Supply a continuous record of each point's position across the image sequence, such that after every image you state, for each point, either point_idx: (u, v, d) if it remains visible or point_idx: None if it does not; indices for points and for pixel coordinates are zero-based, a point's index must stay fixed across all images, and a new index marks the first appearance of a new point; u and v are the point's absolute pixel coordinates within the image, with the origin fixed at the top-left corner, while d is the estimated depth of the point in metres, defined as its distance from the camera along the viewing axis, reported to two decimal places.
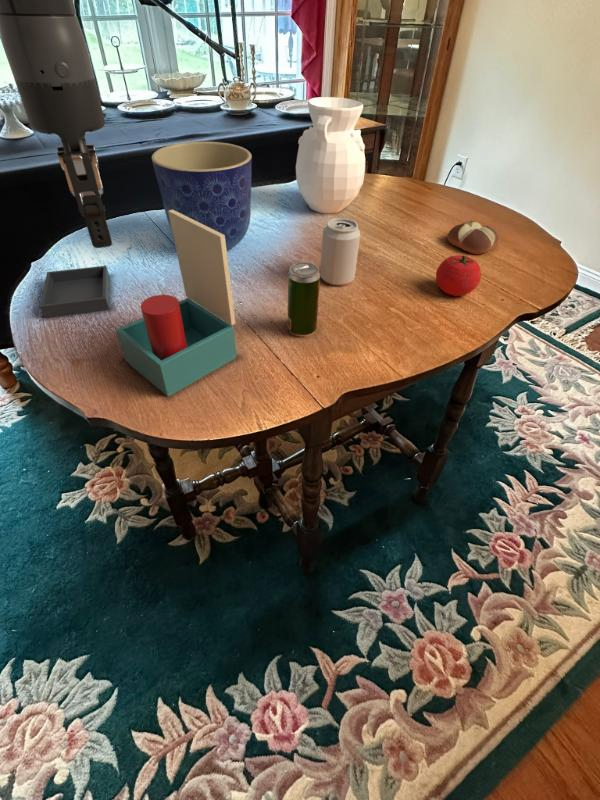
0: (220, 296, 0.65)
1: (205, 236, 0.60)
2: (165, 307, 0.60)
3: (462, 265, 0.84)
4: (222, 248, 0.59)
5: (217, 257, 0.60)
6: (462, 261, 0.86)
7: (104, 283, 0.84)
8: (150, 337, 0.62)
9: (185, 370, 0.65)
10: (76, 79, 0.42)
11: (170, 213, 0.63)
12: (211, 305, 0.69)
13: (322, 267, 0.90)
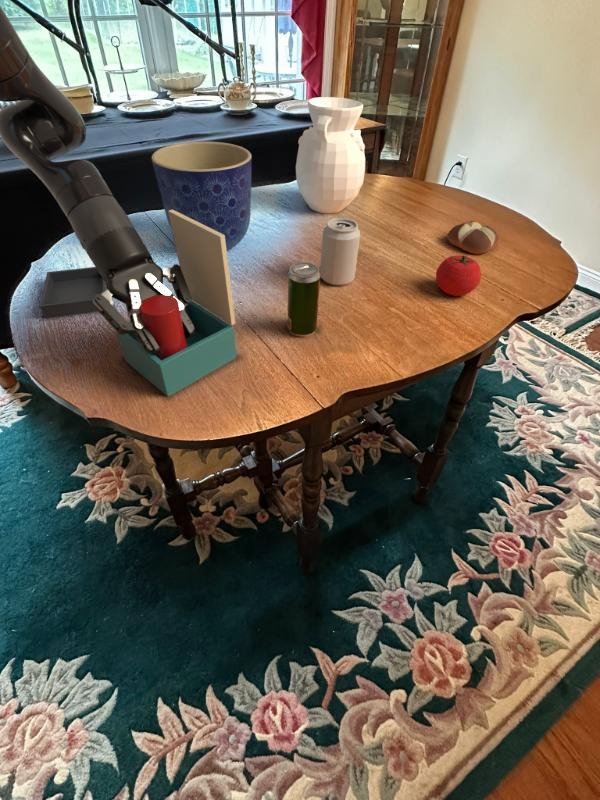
0: (220, 296, 0.65)
1: (205, 236, 0.60)
2: (164, 307, 0.60)
3: (462, 265, 0.84)
4: (222, 248, 0.59)
5: (217, 257, 0.60)
6: (462, 261, 0.86)
7: (104, 283, 0.84)
8: None
9: (185, 370, 0.65)
10: None
11: (170, 213, 0.63)
12: (211, 305, 0.69)
13: (322, 267, 0.90)
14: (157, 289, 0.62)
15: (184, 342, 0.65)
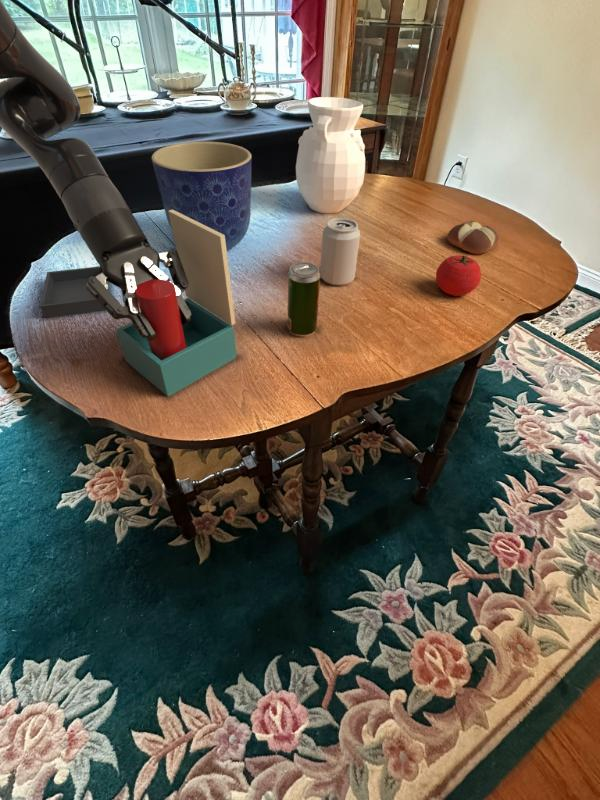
0: (220, 296, 0.65)
1: (205, 236, 0.60)
2: (160, 292, 0.58)
3: (462, 265, 0.84)
4: (222, 248, 0.59)
5: (217, 257, 0.60)
6: (462, 261, 0.86)
7: None
8: None
9: (185, 370, 0.65)
10: None
11: (170, 213, 0.63)
12: (211, 305, 0.69)
13: (322, 267, 0.90)
14: (153, 273, 0.60)
15: (181, 328, 0.63)
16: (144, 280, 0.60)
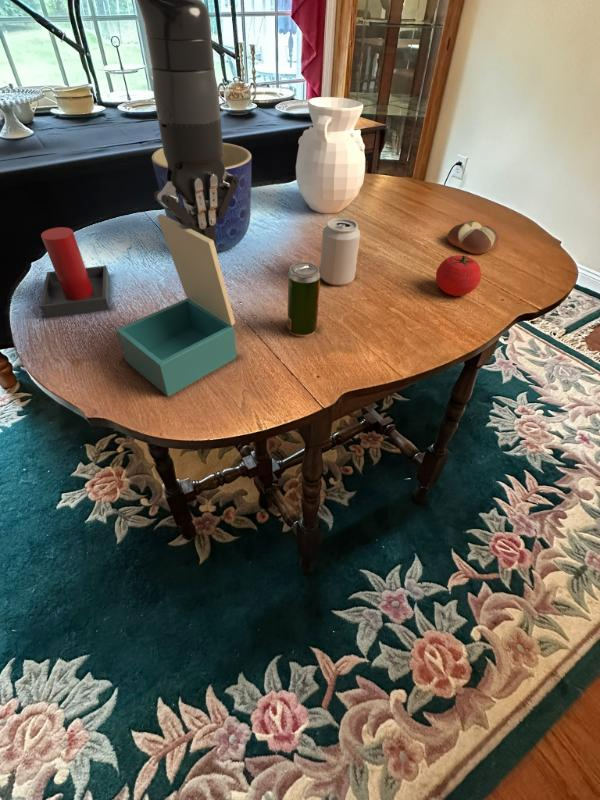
0: (217, 298, 0.65)
1: (195, 241, 0.59)
2: (61, 230, 0.77)
3: (462, 265, 0.84)
4: (212, 253, 0.58)
5: (209, 262, 0.60)
6: (462, 261, 0.86)
7: (104, 283, 0.84)
8: (78, 258, 0.79)
9: (185, 370, 0.65)
10: (176, 121, 0.50)
11: (159, 218, 0.62)
12: (210, 306, 0.69)
13: (322, 267, 0.90)
14: None
15: None
16: None
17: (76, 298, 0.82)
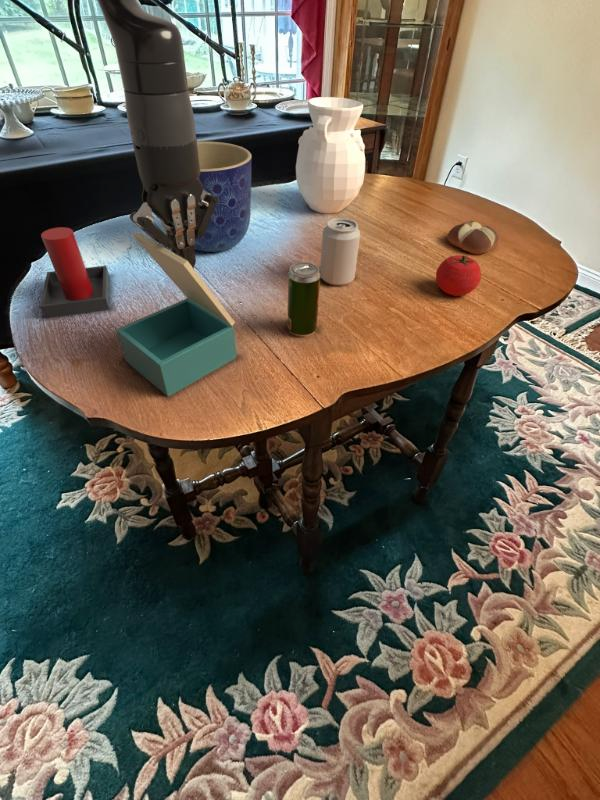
0: (211, 305, 0.65)
1: (172, 261, 0.58)
2: (61, 230, 0.77)
3: (462, 265, 0.84)
4: (190, 272, 0.57)
5: (191, 278, 0.59)
6: (462, 261, 0.86)
7: (104, 283, 0.84)
8: (78, 258, 0.79)
9: (185, 370, 0.65)
10: (149, 144, 0.49)
11: (136, 237, 0.61)
12: (208, 308, 0.69)
13: (322, 267, 0.90)
14: None
15: None
16: None
17: (76, 298, 0.82)
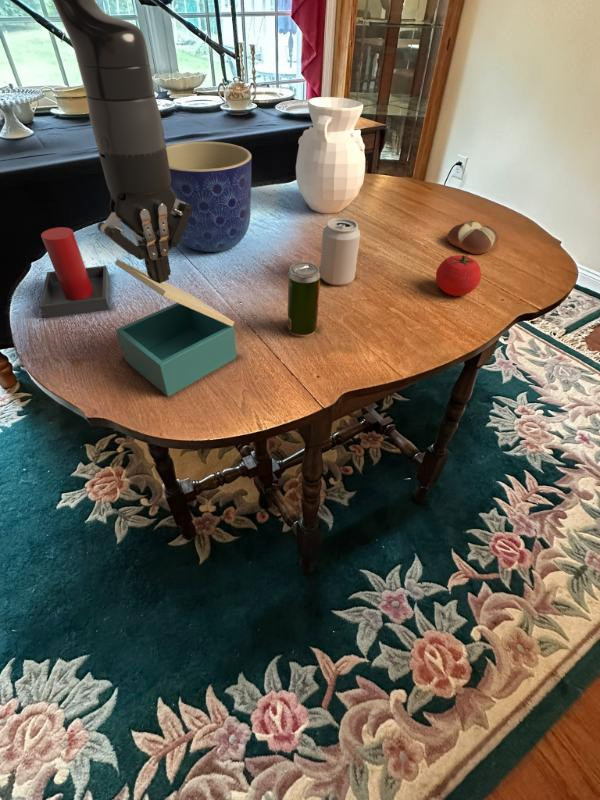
0: None
1: None
2: (61, 230, 0.77)
3: (462, 265, 0.84)
4: (173, 299, 0.57)
5: None
6: (462, 261, 0.86)
7: (104, 283, 0.84)
8: (78, 258, 0.79)
9: (185, 370, 0.65)
10: (114, 152, 0.47)
11: None
12: None
13: (322, 267, 0.90)
14: None
15: None
16: None
17: (76, 298, 0.82)
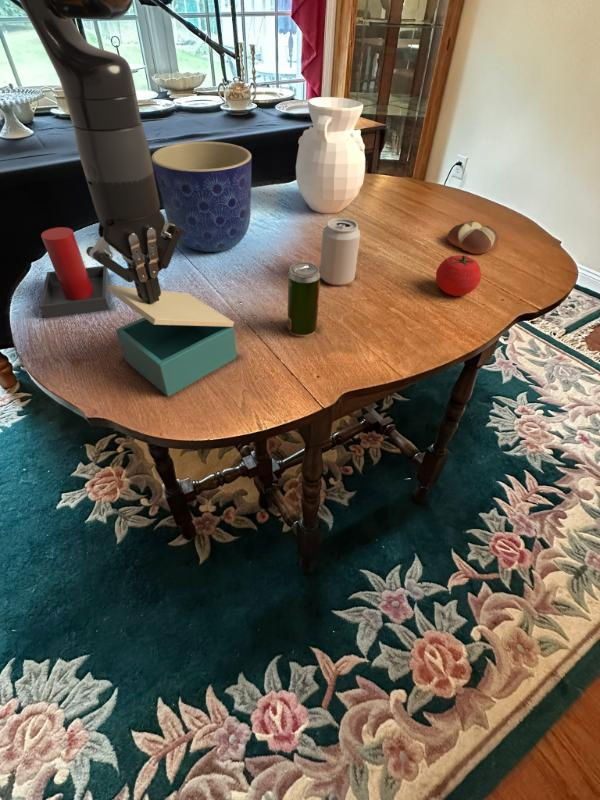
0: None
1: None
2: (61, 230, 0.77)
3: (462, 265, 0.84)
4: (164, 324, 0.58)
5: None
6: (462, 261, 0.86)
7: (104, 283, 0.84)
8: (78, 258, 0.79)
9: (185, 370, 0.65)
10: (101, 180, 0.47)
11: (110, 291, 0.62)
12: None
13: (322, 267, 0.90)
14: None
15: None
16: None
17: (76, 298, 0.82)
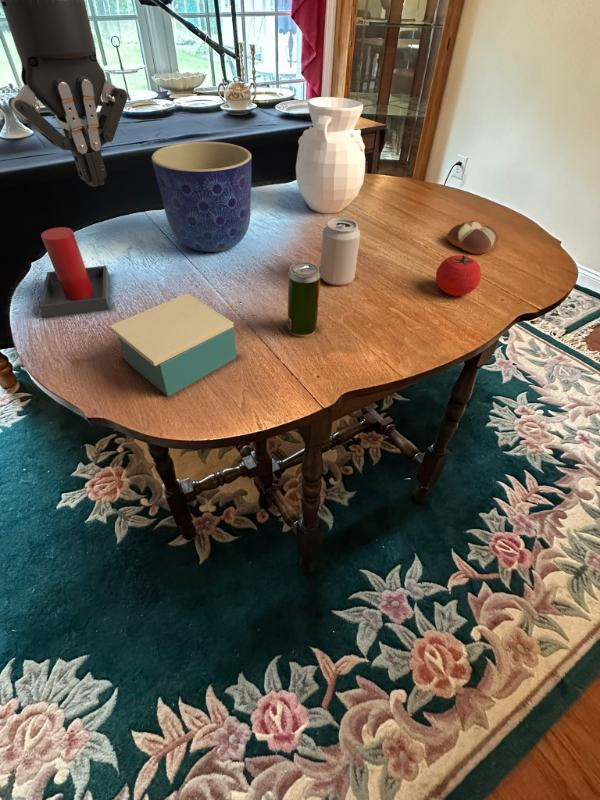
0: None
1: None
2: (61, 230, 0.77)
3: (462, 265, 0.84)
4: (164, 360, 0.61)
5: None
6: (462, 261, 0.86)
7: (104, 283, 0.84)
8: (78, 258, 0.79)
9: (185, 370, 0.65)
10: None
11: None
12: None
13: (322, 267, 0.90)
14: None
15: None
16: None
17: (76, 298, 0.82)
